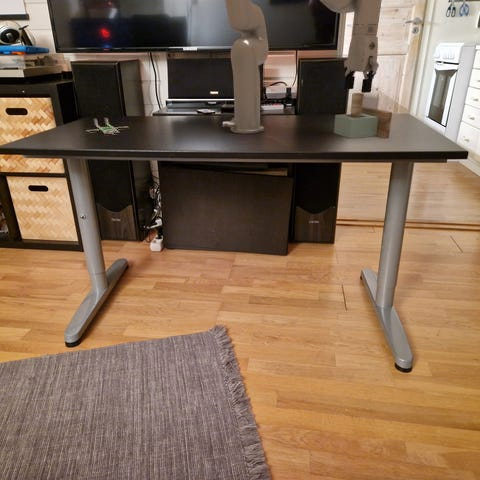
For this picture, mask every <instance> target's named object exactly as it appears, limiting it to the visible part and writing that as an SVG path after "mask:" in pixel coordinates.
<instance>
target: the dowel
mask: <svg viewBox="0 0 480 480" xmlns="http://www.w3.org/2000/svg"><path fill="white" fill-rule="evenodd" d="M363 96H364V94H363V93H354V92H353V93H352V94H351V105H350V108H351V109H350V114H351V115H350V117H353V118H359V117H362V107H363Z"/></svg>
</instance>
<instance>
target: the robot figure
mask: <svg viewBox="0 0 480 480" xmlns="http://www.w3.org/2000/svg"><path fill="white" fill-rule="evenodd" d="M93 121H94V122H93V123H94V127H95V126H96V127H97V128H96V127H95V128H96V129H95V128H94V129H87V130H85V133H86V132H90V131H99V130H101V131H102V132H103V133H104V134H103V133H102V132H101V131H100V132H101V133H102V134H103V135H105V134H112V135H115V134H114V133H120V134H121V131H119V129H118V128H128V129H130V126H128V125H127V126H117V127H114V126H113V125H111V124H110V122H109V118H108V117H104V123H105V126H100V125H99V124H98V119H97V118H93ZM106 125H107V126H106ZM108 126H109V127H108ZM98 128H99V129H98ZM117 129H118V130H117ZM90 133H91V132H90Z"/></svg>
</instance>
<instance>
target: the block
mask: <svg viewBox="0 0 480 480" xmlns="http://www.w3.org/2000/svg"><path fill="white" fill-rule="evenodd" d="M334 115H335V118H334V126H333V127H334V128H333V134H336V135H339V136H341V137H345V138H347V139H357V138H360V139H361V138H367V137H377V136H376V132H377V124H378V117H375V116H371V115H367V114H363V113H362V117H359V118H353V117H350V115H351V113H347V114H346V113H344V114H334Z"/></svg>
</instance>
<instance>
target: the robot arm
mask: <svg viewBox="0 0 480 480" xmlns="http://www.w3.org/2000/svg"><path fill="white" fill-rule="evenodd" d="M319 1H320V3H322V4H323V5H324V6H325V7H327V8H328V9H329V10H330V11H332V12H334V13H338V14H350V13H353V19H352V26H351V27H352V28H351V38H350V43H349V47H348V53H347V59H345V60H344V62H343V65H344V77H345V79H344V90H354V85H355V73H356V72H358V73H359V72H360V73H362V74H363V78H362V81H361V82H362V83H361V90H360V91H361V92H362V93H370V92H371V91H372V86H373V80H374V78H375V76H376V74H377V71H378V69H379V66H380V65H379V62H378V61H377V60H378V53H379V51H378V50H379V40H378V39H379V38H378V32H379V31H378V30H379V29H378V28H379V23H380V14H381V9H382V8H381V7H382V0H319ZM224 2H225V8H226V13H227V19H228V24H229V27H230V29H231V30H232V31H233V32H235V33H237V34H241V37H240V38H237V40H235V42H234V43H233V44H232V46H231V49H230V61H231V68H232V75H233V105H234V106H233V107H234V117H232V119H230V121H228V120H225V121H222V122H221V125H222V127H223V128H225V127H226V128H227V127H228V128H230V131H231V132H232V133H235V134H259V133H262V132H263V131H265V126H263V125H261V76H260V69H259V66H261V65H262V64H264V63H265V62H266V60H267V59H268V57H269V41H268V33H267V27H266V20H265V16H264V13H263V10H262V9H261V7H259V6H258V5H257V4H255V3H253V2H252V0H224Z"/></svg>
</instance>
